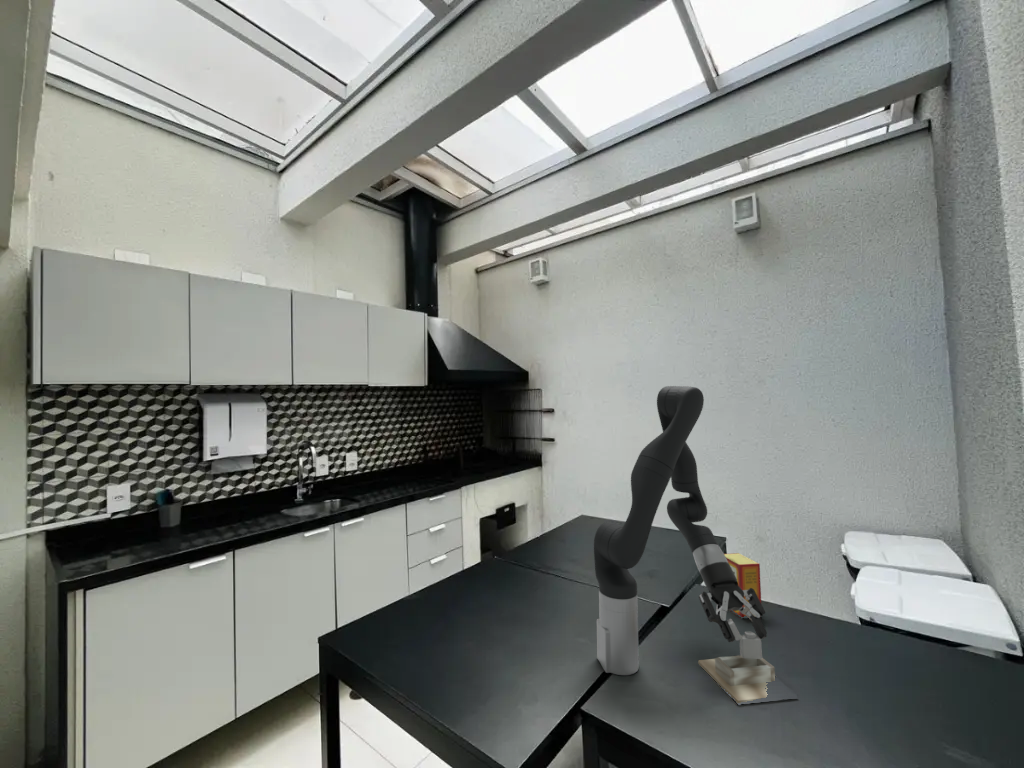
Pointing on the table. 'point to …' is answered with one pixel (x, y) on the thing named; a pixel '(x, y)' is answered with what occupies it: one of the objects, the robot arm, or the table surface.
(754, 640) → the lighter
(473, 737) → the table surface
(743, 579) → the baking soda box
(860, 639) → the table surface
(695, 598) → the table surface
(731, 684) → the holder
